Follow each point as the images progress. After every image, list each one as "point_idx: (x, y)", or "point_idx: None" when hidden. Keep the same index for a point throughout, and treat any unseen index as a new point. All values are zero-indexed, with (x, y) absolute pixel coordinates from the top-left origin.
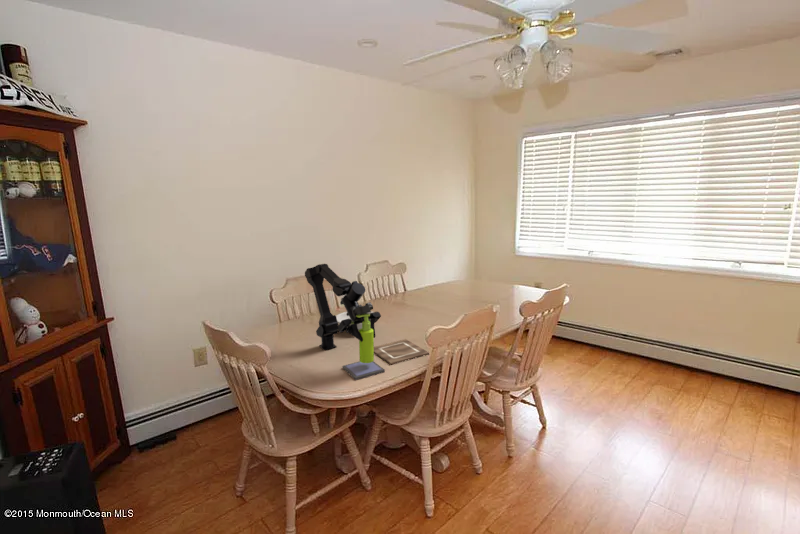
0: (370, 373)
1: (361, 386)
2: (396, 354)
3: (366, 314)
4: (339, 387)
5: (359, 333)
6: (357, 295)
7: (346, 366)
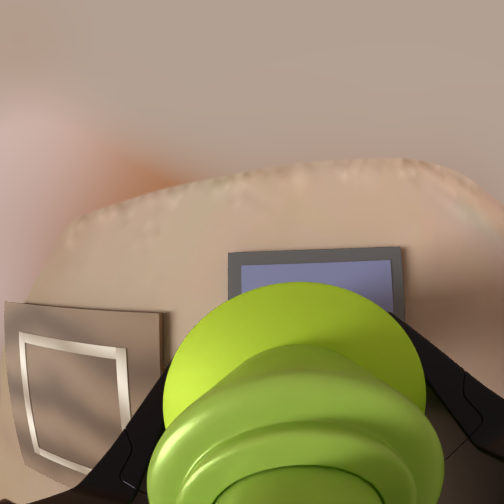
0: (316, 251)
1: (390, 181)
2: (93, 381)
3: None
4: (467, 225)
5: (434, 375)
6: None
7: None
